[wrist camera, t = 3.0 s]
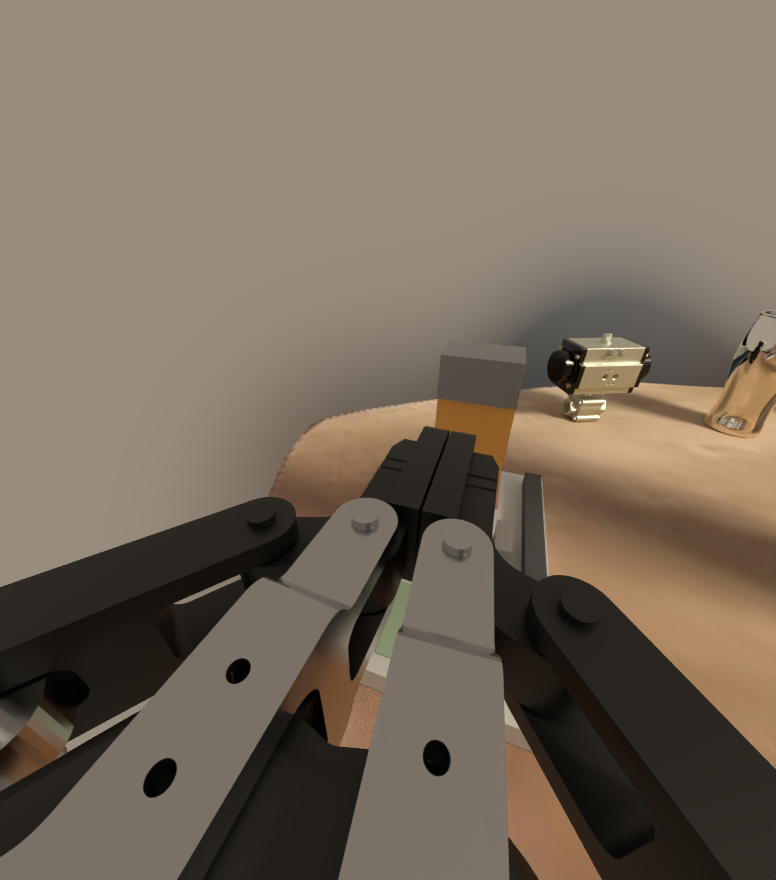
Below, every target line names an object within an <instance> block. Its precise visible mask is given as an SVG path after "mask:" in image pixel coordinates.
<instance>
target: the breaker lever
mask: <svg viewBox="0 0 776 880" xmlns="http://www.w3.org/2000/svg"><path fill="white" fill-rule="evenodd" d="M525 367H526V348H524V347H515V346H504V345H494V344H484V343H474V342H464V341H454V340H450V342H449V343H448V345H447V346H446V348H445V349H444V351H443V352H442V354H441V359H440V371H439V381H438V392H437V398H438V402H437V412H436V423H435V428H439V429H444V430H450V433H451V431H456V432H462V433H467V434H473V435H477V437H476V443H475V449H474V452H476V453H481V454H486V455H491V456H493V458H494V459H495V461H496V463H497V465H498V466H499V474H498V484H499V479H500V475H501V470H502V466H503V462H504V457H505V453H506V449H507V444H508V440H509V435H510V431H511V427H512V422H513V418H514V414H515V410H516V407H517V402H518V398H519V394H520V389H521V385H522V380H523V376H524V371H525ZM498 484H497V488H498Z"/></svg>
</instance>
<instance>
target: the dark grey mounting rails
mask: <svg viewBox="0 0 776 880" xmlns="http://www.w3.org/2000/svg"><path fill="white" fill-rule="evenodd" d="M521 572H522V573H524V574H526V575H528V576H530V577H531V578H533V579H535V580H537V581H540V580H542V579H543V578H546V577H547V566H546V550H545V534H544V518H543V502H542V486H541V475H536V474H531V473H525V476H524V479H523V483H522V542H521Z"/></svg>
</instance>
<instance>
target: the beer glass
mask: <svg viewBox="0 0 776 880" xmlns="http://www.w3.org/2000/svg"><path fill="white" fill-rule="evenodd" d="M775 405H776V310H763V311H761V313H760V315H759V316H758V318H757V319H756V321H755V322H754V324H753V325H752V327H751V328H750V330H749V331H748V333H747V334H746V336H745V337H744V339H743V341H742V342H741V344H740V346H739V348H738V350H737V352H736V354H735V356H734V359H733V362H732V364H731V367H730V370H729V373H728V377H727V380H726V383H725V386H724V389H723V392H722V394H721V396H720V398H719V400H718V401H717V403H716V404H715V405H714V407H713V408H712V409H711V410H710V411H709V412H708V413H707V415H706V416H705V417H704V419H703V421H704V423H705V424H706V425H708V426H709V427H711V428H713V429H715V430H717V431H719V432H722V433H725V434H728V435H732V436H737V437H743V438H754V437H758V436H759V435H760V434H761V432H762V429H763V426H764V424H765V421H766V419H767V417H768V415H769V413H770V412H771V410H772V409H773V408H774V407H775Z"/></svg>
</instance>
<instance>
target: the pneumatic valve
mask: <svg viewBox="0 0 776 880" xmlns="http://www.w3.org/2000/svg"><path fill="white" fill-rule="evenodd" d="M611 337H612V334H610V333H608V334H606V333H605V334H604V335H603V338H568V339H563V342H562V345H561V346H560V347H559V350H556V351H554V352H553V353H552V354H551V356H550V358H549V361H548V365H547V373H548V377H549V379H550V380H551V382H553V383H554V384H555V385H557V386H558V387H559V388H560V389H562V390H563V391H564V392H566V393H567V394H568V397H569V398H567V399H565V400H564V401H563V403H562V411H563V413H564V414H565V415H569V416H570V417H572V420H573V421H574V422H583V421H597V420H599V419H600V416H599V414H601V413H603V412H604V410H605V408H606V400H604V399H603V398H600V397H598V396H596V395H595V394H600V395H602V396H604V394H609V393H631V392H632V390H633V388H634V387H638V386H639V383H640V381H641V379H643V378H644V377H645V376H646V375H647V374H648V372H649V370H650V367H651V357H650V354H649V353H648V352H649V349H650V347H648V346H645V345H643V344H640V343H638V342H635V341H633V340H631V339H628V338H626V337H622V338H621V337H620V338H611Z"/></svg>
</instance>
